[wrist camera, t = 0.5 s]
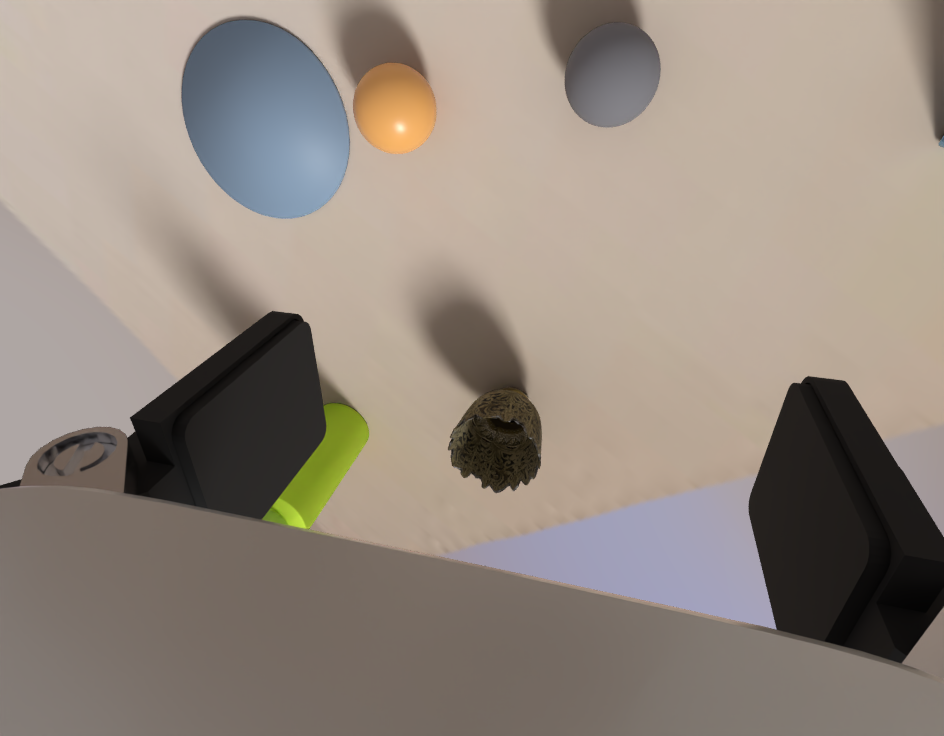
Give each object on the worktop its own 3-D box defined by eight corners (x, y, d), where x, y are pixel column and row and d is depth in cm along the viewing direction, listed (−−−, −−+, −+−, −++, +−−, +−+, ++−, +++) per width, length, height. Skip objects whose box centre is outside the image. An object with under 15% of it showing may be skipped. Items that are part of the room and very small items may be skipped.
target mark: (154, 38, 41) (152, 38, 41) (319, 2, 37) (317, 1, 37) (223, 224, 48) (222, 225, 48) (369, 210, 44) (368, 211, 44)
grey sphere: (566, 31, 34) (556, 31, 30) (659, 15, 33) (663, 12, 28) (572, 126, 37) (563, 139, 33) (658, 115, 35) (661, 127, 31)
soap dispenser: (374, 407, 54) (259, 571, 38) (365, 456, 58) (257, 625, 42) (319, 387, 55) (181, 540, 38) (314, 437, 59) (187, 597, 42)
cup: (457, 404, 51) (431, 459, 45) (498, 349, 47) (476, 401, 41) (523, 446, 52) (507, 507, 45) (569, 396, 48) (559, 455, 41)
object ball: (364, 67, 38) (328, 72, 34) (438, 54, 37) (411, 57, 32) (382, 150, 41) (351, 165, 37) (452, 141, 40) (428, 155, 35)
